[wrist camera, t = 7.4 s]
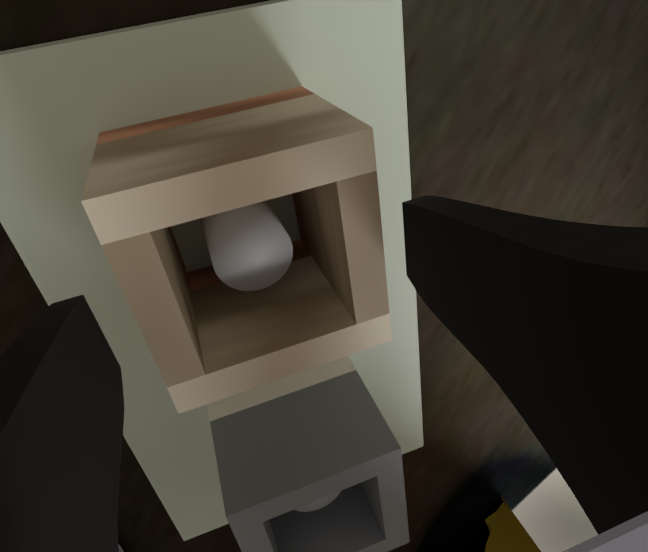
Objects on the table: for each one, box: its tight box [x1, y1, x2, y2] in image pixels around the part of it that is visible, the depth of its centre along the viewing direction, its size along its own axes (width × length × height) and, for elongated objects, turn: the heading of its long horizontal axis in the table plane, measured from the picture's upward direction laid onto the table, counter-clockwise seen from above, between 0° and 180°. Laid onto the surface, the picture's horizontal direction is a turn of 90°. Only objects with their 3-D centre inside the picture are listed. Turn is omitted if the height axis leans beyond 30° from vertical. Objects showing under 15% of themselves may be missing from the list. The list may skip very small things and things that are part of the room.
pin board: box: [0, 0, 424, 541], centre depth 17 cm, size 12×20×5 cm, turn 8°
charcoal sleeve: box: [207, 356, 410, 552], centre depth 18 cm, size 6×6×5 cm
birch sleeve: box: [81, 86, 392, 414], centre depth 13 cm, size 6×6×5 cm
